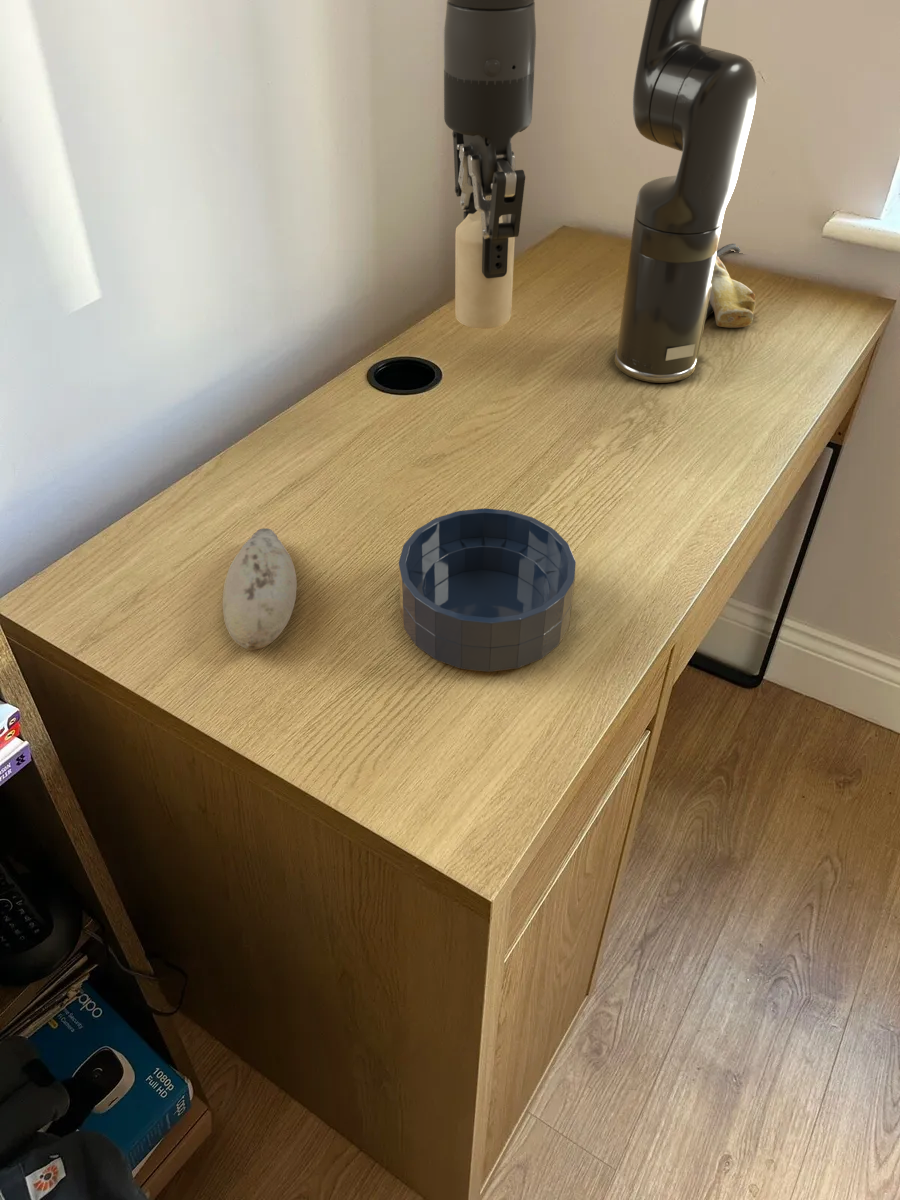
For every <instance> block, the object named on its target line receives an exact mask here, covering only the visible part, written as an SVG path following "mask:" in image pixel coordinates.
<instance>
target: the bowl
mask: <svg viewBox="0 0 900 1200" xmlns="http://www.w3.org/2000/svg"><path fill="white" fill-rule="evenodd" d="M398 559H399V560H398V578H399V579H398V582H399V607H400V616H401V621H402V625H403V626H402V627H403V629H404V631H405V633H406V634H407V635H408V637H409V638H410V639H411V641H412V642H413V644H414V645H415V646H416V647H417V648H418V649H420V650H421V651H422V652H424V653H426V654H427V655H428V656H430V657H431V658H432V659H434V660H436V661H438V662H441V663H443V664H447V665H448V666H452V667H455V668H457V669H460V670H468V671H479V672H486V673H488V672H490V673H492V672H499V671H507V670H514V669H521V668H522V667H524V666H528V665H529V664H532V663H535V662H537V661H540V660H542V659H543V658H544V657H546V656H547V655H548V654H549V653H551V652H552V651H553V650H554V649H556V648H557V647H559V645H560V644H561V642H562V640H563V639H564V636H565V635H566V633H567V631H568V629H569V627H570V622H571V621H570V620H571V612H572V604H573V598H574V597H573V595H574V587H575V579H576V568H577V567H576V566H577V562H576V559H575V556H574V554H573V551H572V549H571V547H570V545H569V543H568V542H567V541H566V540H565V539H564V538H563V537H562V536H561V535H560V533H559V532H558V531H556V530H555V529H554V528H553V527H551V526H549V525H547V524H546V523H544V522H542V521H540V520H539V519H537V518H535V517H533V516H529V515H526V514H522V513H519V512H515V511H513V510H508V509H497V508H496V509H495V508H485V507H484V508H483V507H482V508H475V509H465V510H456V511H453V512H450V513H448V514H445V515H440V516H438V517H434V518H433V519H432V520H429V521H428V522H426V523H425V524H423V525H421V526H420V527H418V528H417V529H416V530H415V531H414V532H413V533H412V534H411V535H410V537H408V539H407V540H406V541H405V542H404V544H403V545H402V549H401V552H400V556H399V558H398Z"/></svg>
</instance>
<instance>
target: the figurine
mask: <svg viewBox="0 0 900 1200" xmlns="http://www.w3.org/2000/svg"><path fill="white" fill-rule="evenodd" d="M711 284H712V288H711V293H710V298H709V304H711V305H712V308H713V312H714V318H715V324H716V326H717V327H719V328H733V329H734V328H736V329H737V328H746V327H748V326H749V325H751V324H752V323H753V320H754V317H755V316H754V315H755V314H754V311H755V308H756V304H757V302H756V294H755V292H754V291H753V290H752V289H751V288H749V286H747V285H745V284H744V283H742V282H740V281H737V280H735V279H733V278H731V276H730V274H729V272H728V270H727V268H726V266H725V264H724V263H723V261H722V260H721V259H720V256H719V257H718V256H717V255H716V258H715V263H714V268H713V273H712V279H711Z"/></svg>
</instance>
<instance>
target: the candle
mask: <svg viewBox="0 0 900 1200" xmlns="http://www.w3.org/2000/svg"><path fill="white" fill-rule="evenodd" d="M499 223H503V220H502V216H500V218H499ZM515 240H516V237H510V238H508V259H507V273H506V275H505V276H503V277H497V278H486V277H485V276H484V275H483V273H482V248H483V234H482V221H481V213H480V212H479V211H476V212H475V213H474V214H468V215H467V217H466V218H465V219H464V218H463V220H462V221H461V222H460V223H459V224H458V225H457V226H456V228H455V242H454V243H455V244H454V245H455V249H454V250H455V253H454V254H455V257H454V258H455V264H454V265H455V271H454V273H455V274H454V276H455V278H454V279H455V281H454V282H455V283H454V284H455V285H454V286H455V289H454V290H455V292H454V293H455V294H454V296H455V297H454V302H455V303H454V305H455V307H454V309H455V311H454V312H455V314H454V315H455V319H456V320H457V321H458V322H459V323H460V324H461V325H463V326H466V327H468V328H471V329H480V330H490V329H496V328H500V327H502V326H504V325H506V324H507V323H509V321H510V320H511V317H512V308H513V307H512V306H513V288H514V287H513V285H514V265H515V264H514V263H515V244H516V243H515V242H516V241H515Z"/></svg>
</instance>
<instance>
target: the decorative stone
mask: <svg viewBox="0 0 900 1200" xmlns="http://www.w3.org/2000/svg"><path fill="white" fill-rule="evenodd" d="M297 581H298V580H297V573H296V568H295V565H294V562H293V559H292V557H291V554H290V553H289V552H288V550H287V549H286V547H285V545H284V544H283V543H282V541H281V540H280V539H279V537H278V534H276V533H275V532H274V530H272V529H271V528H266V527H265V528H264V527H263V528H259V529H257V530H256V532H254V533H253V534H252V535H251V537H250V538H248V540H247V541H245V543H244V544H243V545H242V547H241V548H240V550H239V551H238V552H237V554H236V555H235V557H234V559H232V562H231V564H230V566H229V568H228V569H227V573H226V576H225V579H224V583H223V591H222V614H223V620H224V624H225V627H226V629H227V632H228V635H230V637H231V639H232V640H233V641H234V642H235V643H236V644H237V645H238V646H240V647H241V648H243V649H246V650H248V651H250V650H251V651H257V650H260V649H263V648H265V647H267V646H269V645H270V644H272V643H273V642H274V641H275V640H276V639H277V638H278V637H279V636H280V635H281V633H282V632H283V631H284V629H285V628H286V626H287V625H288V623H289V621H290V619H291V617H292V614H293V612H294V608H295V604H296V599H297V588H298V587H297V586H298V582H297Z"/></svg>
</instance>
